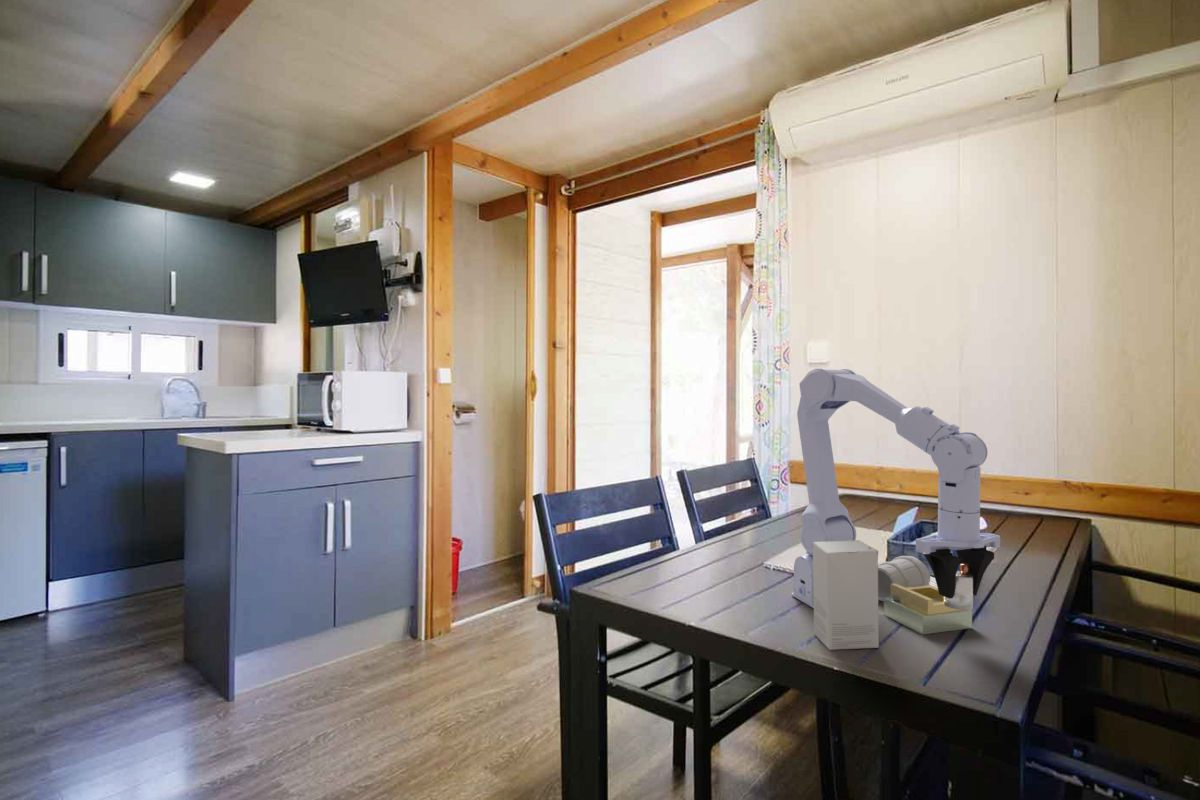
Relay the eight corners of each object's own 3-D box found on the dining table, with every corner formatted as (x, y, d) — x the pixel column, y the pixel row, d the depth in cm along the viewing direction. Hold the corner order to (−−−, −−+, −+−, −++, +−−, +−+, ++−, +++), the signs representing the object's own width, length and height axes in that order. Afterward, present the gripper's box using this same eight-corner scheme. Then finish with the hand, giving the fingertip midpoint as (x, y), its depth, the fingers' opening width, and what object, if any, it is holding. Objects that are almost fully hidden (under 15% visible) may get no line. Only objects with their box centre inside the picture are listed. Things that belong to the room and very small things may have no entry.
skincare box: (861, 633, 99) (861, 539, 99) (881, 650, 92) (881, 550, 92) (811, 633, 99) (811, 540, 98) (827, 651, 92) (828, 550, 92)
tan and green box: (922, 634, 98) (922, 601, 98) (883, 614, 107) (883, 583, 107) (971, 628, 101) (972, 595, 101) (929, 609, 109) (930, 579, 109)
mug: (938, 591, 113) (897, 605, 108) (887, 597, 123) (847, 611, 117) (922, 551, 116) (882, 563, 110) (873, 560, 125) (834, 571, 120)
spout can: (958, 611, 92) (958, 569, 92) (937, 602, 96) (938, 562, 96) (979, 608, 94) (979, 567, 93) (957, 600, 97) (958, 560, 97)
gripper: (941, 517, 89) (940, 608, 89) (1018, 512, 93) (1017, 599, 93) (905, 508, 96) (905, 592, 96) (978, 503, 99) (977, 584, 100)
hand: (957, 594), depth 95 cm, fingers closed on spout can, 4 cm apart
